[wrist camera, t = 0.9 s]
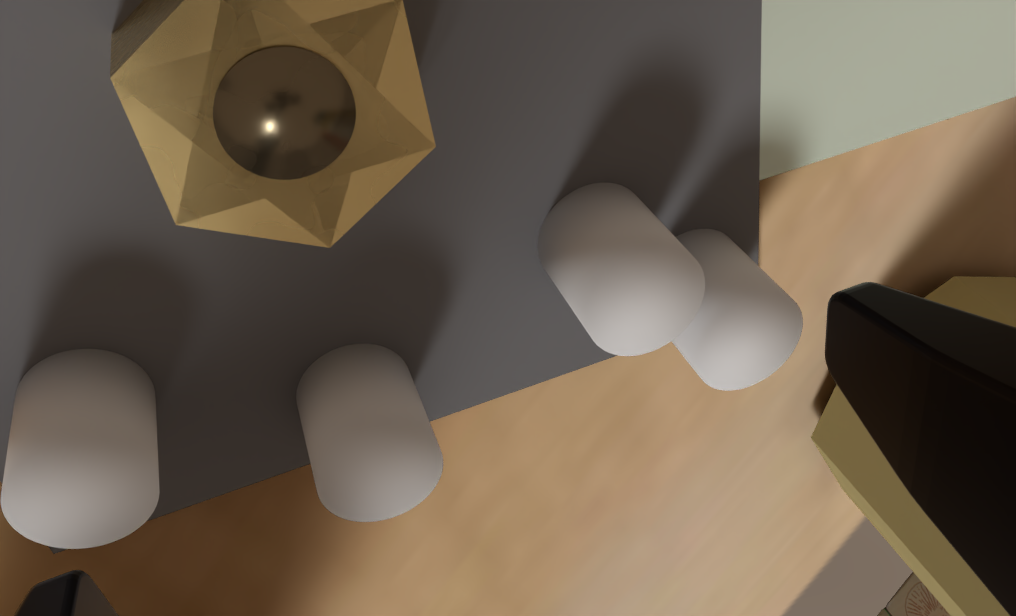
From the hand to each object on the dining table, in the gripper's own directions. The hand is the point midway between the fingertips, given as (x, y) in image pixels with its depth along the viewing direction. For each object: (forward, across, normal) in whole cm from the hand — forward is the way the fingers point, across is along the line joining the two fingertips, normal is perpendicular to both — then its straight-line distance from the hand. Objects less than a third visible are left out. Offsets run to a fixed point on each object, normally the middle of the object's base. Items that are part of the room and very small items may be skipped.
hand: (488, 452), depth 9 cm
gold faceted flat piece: (+11, +1, 0) cm, 11 cm away
